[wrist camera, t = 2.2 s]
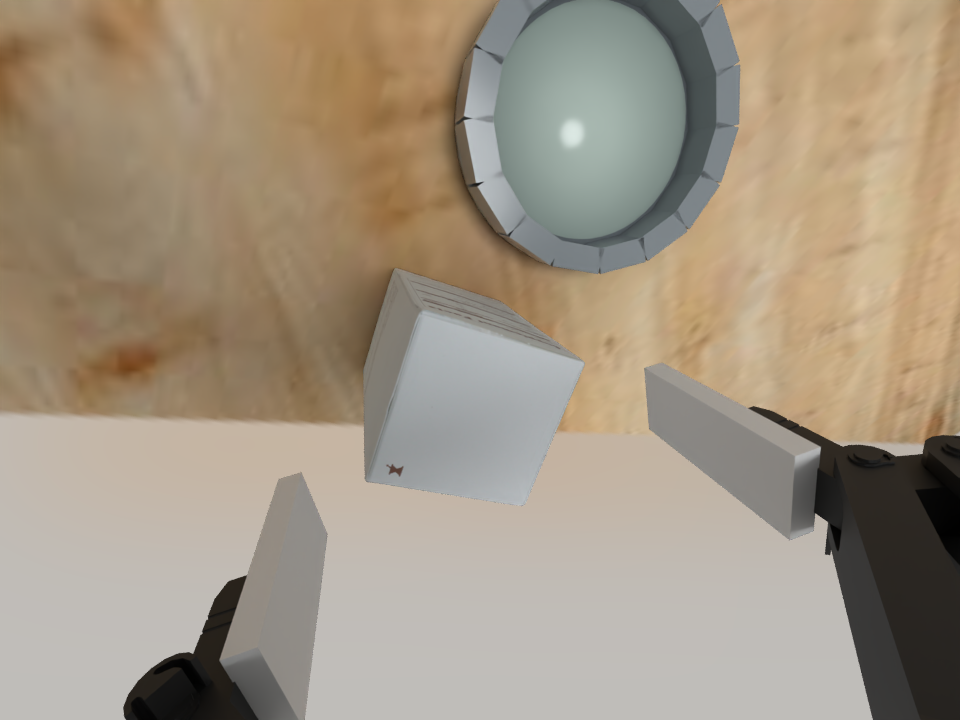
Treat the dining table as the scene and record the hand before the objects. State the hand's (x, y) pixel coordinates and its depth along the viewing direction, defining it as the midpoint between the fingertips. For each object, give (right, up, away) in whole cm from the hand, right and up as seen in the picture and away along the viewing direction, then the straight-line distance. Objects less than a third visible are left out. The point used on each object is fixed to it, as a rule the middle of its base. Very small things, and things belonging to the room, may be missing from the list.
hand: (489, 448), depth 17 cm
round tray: (+6, +17, +11) cm, 21 cm away
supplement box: (-4, +5, +13) cm, 14 cm away
